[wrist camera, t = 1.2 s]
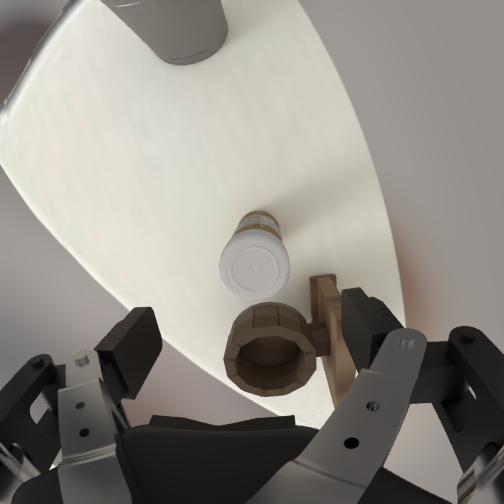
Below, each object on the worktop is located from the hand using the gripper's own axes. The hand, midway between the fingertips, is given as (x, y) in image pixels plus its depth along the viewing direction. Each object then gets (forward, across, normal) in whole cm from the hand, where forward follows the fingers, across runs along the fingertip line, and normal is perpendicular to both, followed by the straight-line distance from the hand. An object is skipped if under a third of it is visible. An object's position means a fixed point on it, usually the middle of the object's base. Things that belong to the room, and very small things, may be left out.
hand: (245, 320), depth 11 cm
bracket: (+20, -2, +11) cm, 23 cm away
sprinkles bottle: (+20, 0, 0) cm, 20 cm away
